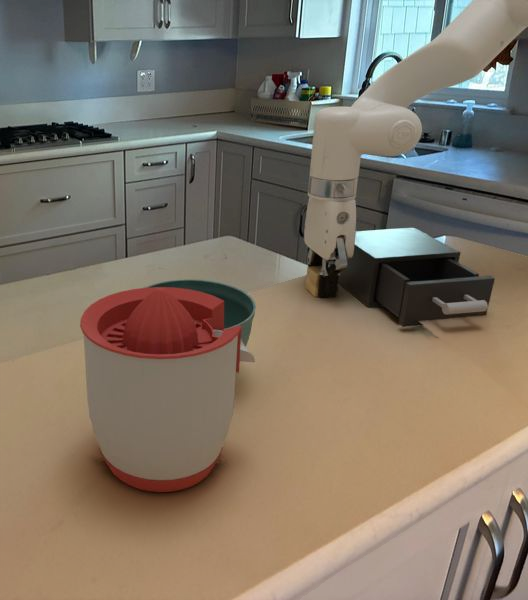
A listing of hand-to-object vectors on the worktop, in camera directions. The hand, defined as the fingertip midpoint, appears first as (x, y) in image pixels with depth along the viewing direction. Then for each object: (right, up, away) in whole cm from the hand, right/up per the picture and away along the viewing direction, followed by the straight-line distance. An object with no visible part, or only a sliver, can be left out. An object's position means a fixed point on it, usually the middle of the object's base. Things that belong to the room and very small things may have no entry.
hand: (321, 289), depth 107 cm
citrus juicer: (-29, -19, -40) cm, 53 cm away
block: (0, 0, 0) cm, 0 cm away
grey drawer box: (+12, 0, +1) cm, 12 cm away
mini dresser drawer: (+14, -4, -11) cm, 18 cm away
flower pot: (-25, -12, -25) cm, 38 cm away
